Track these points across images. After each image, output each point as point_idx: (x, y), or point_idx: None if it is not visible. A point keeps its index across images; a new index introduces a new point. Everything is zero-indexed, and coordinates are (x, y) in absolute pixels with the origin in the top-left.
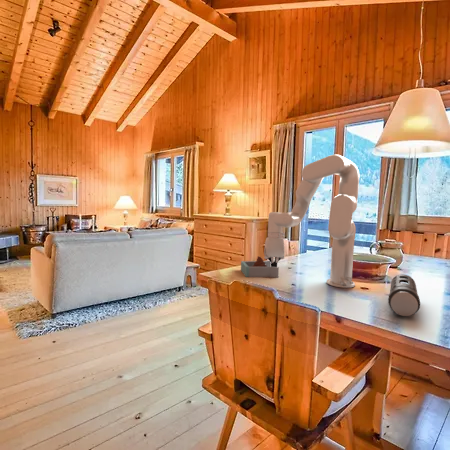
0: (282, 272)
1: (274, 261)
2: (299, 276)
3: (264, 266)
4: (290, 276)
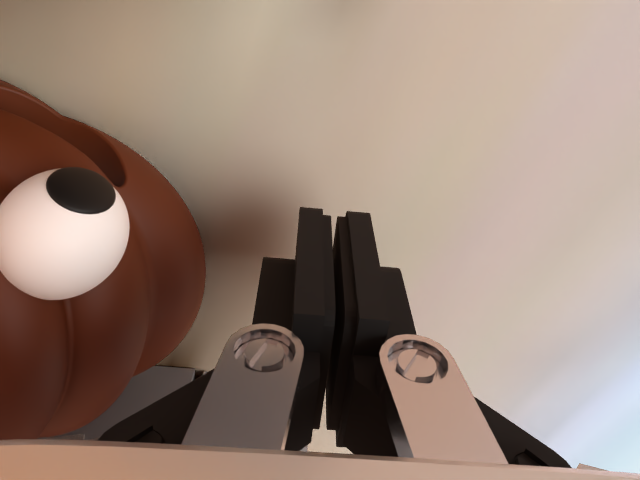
0: (542, 175)
1: (349, 401)
2: (631, 416)
3: (44, 436)
4: (502, 404)
